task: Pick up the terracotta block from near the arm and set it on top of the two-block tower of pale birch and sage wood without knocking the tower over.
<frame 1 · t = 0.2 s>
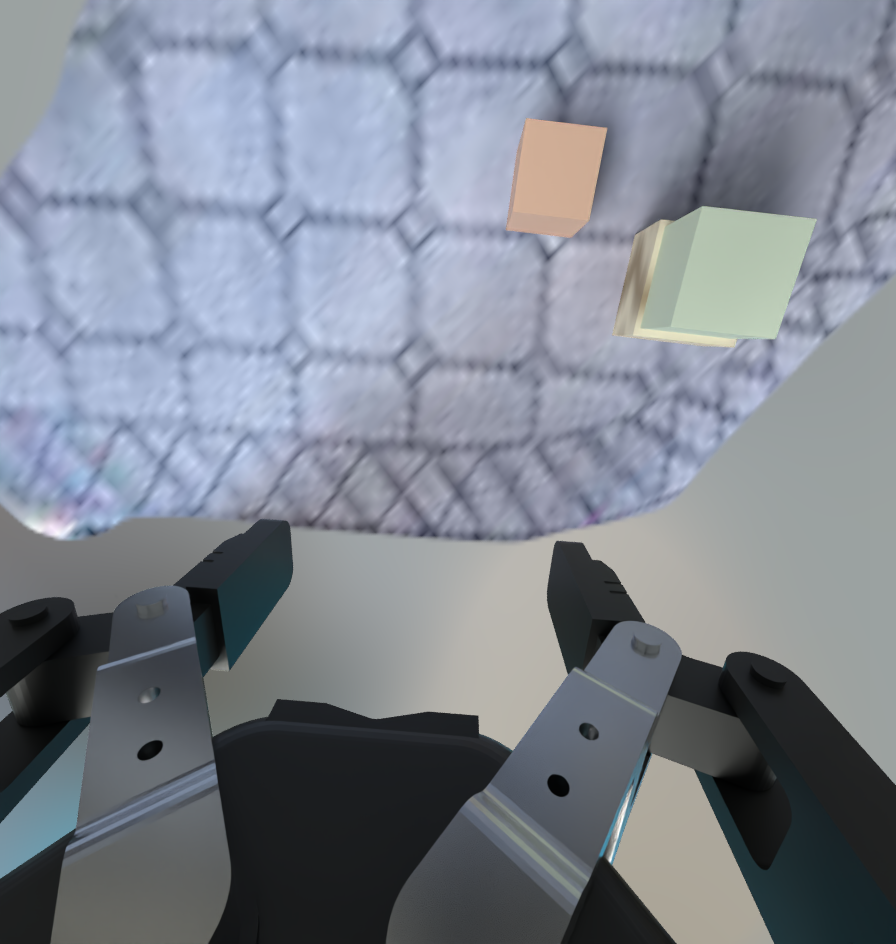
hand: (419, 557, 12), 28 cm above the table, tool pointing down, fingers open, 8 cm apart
sage top block: (698, 284, 31), point 5 cm above the table, touching birch base block
birch base block: (668, 292, 36), on the table, touching sage top block
terracotta block: (544, 196, 34), on the table
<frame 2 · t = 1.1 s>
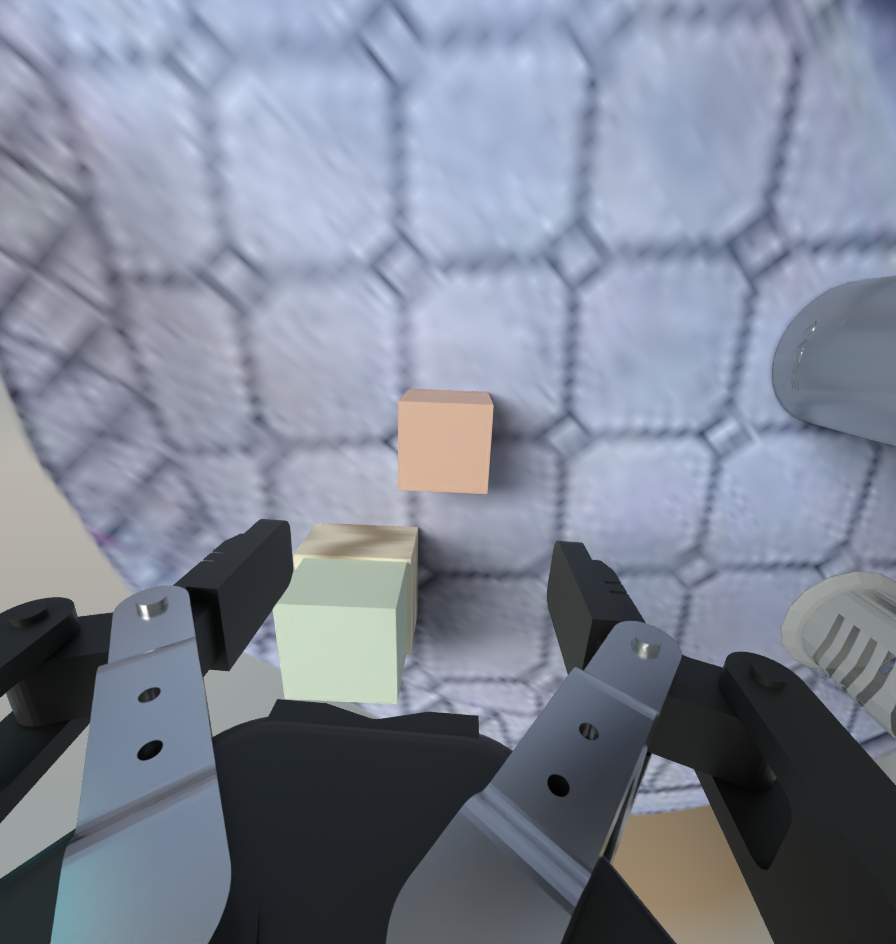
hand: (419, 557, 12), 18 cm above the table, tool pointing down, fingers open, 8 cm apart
french press: (843, 612, 34), on the table
sage top block: (357, 603, 29), point 5 cm above the table, touching birch base block
birch base block: (369, 568, 34), on the table, touching sage top block
terracotta block: (447, 428, 30), on the table
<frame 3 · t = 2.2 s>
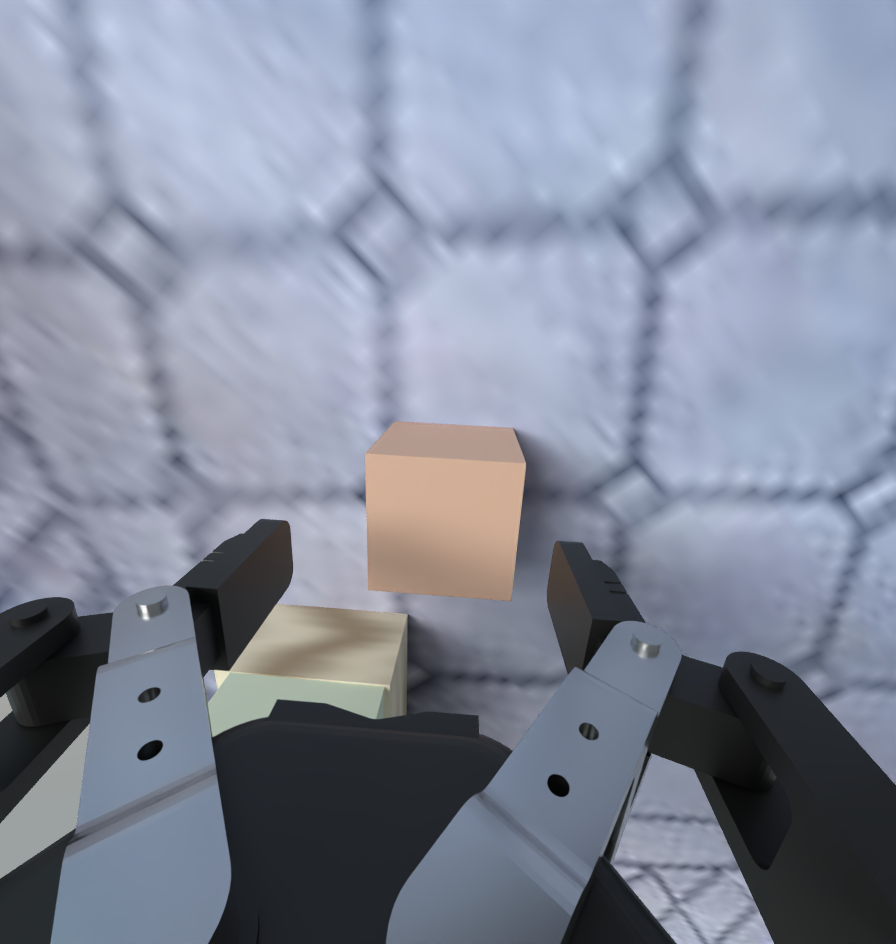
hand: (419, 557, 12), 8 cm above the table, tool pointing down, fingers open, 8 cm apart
sage top block: (311, 737, 19), point 5 cm above the table
birch base block: (340, 663, 24), on the table
terracotta block: (450, 479, 20), on the table
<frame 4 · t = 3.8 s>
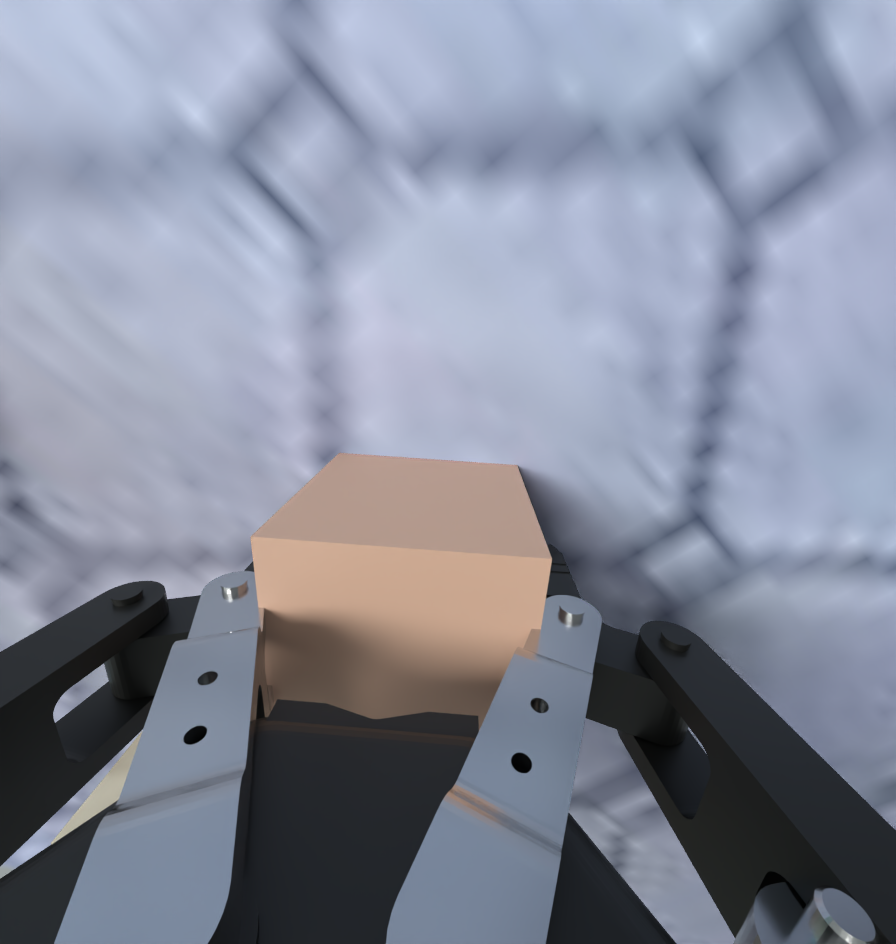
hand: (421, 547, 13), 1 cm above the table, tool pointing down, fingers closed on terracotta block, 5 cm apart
birch base block: (275, 775, 18), on the table
terracotta block: (424, 538, 14), on the table, touching gripper
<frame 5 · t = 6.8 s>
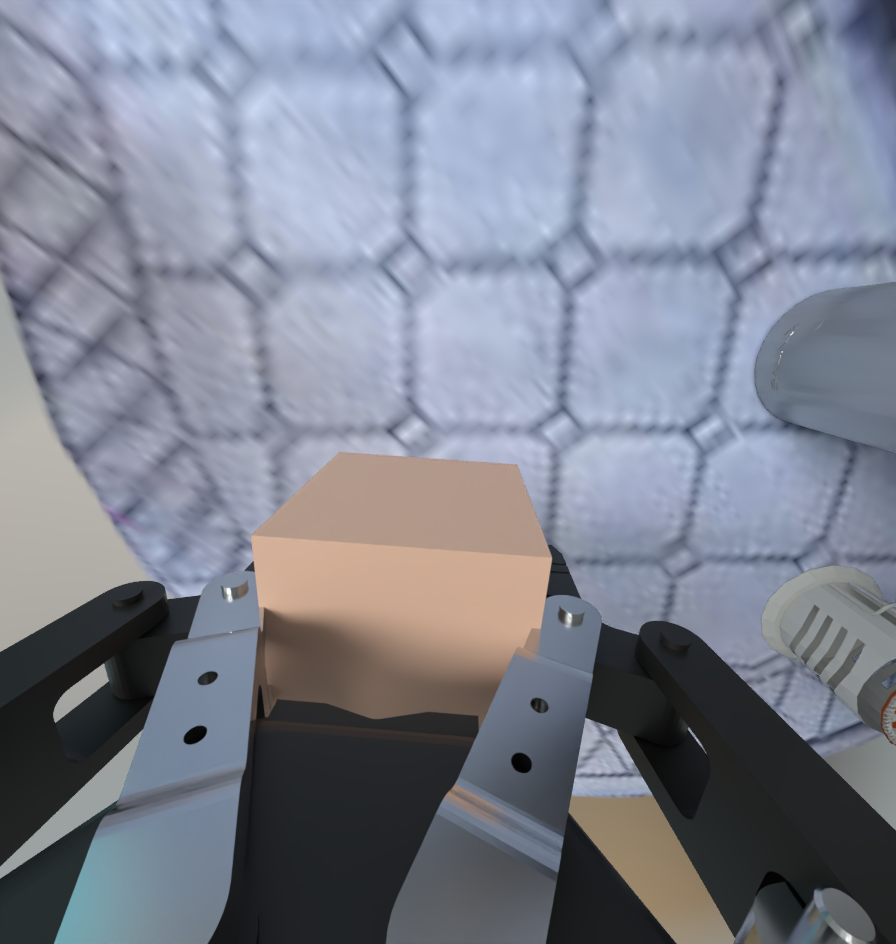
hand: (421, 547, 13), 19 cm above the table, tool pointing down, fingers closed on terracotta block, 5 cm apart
french press: (820, 604, 35), on the table
terracotta block: (424, 537, 14), point 19 cm above the table, touching gripper
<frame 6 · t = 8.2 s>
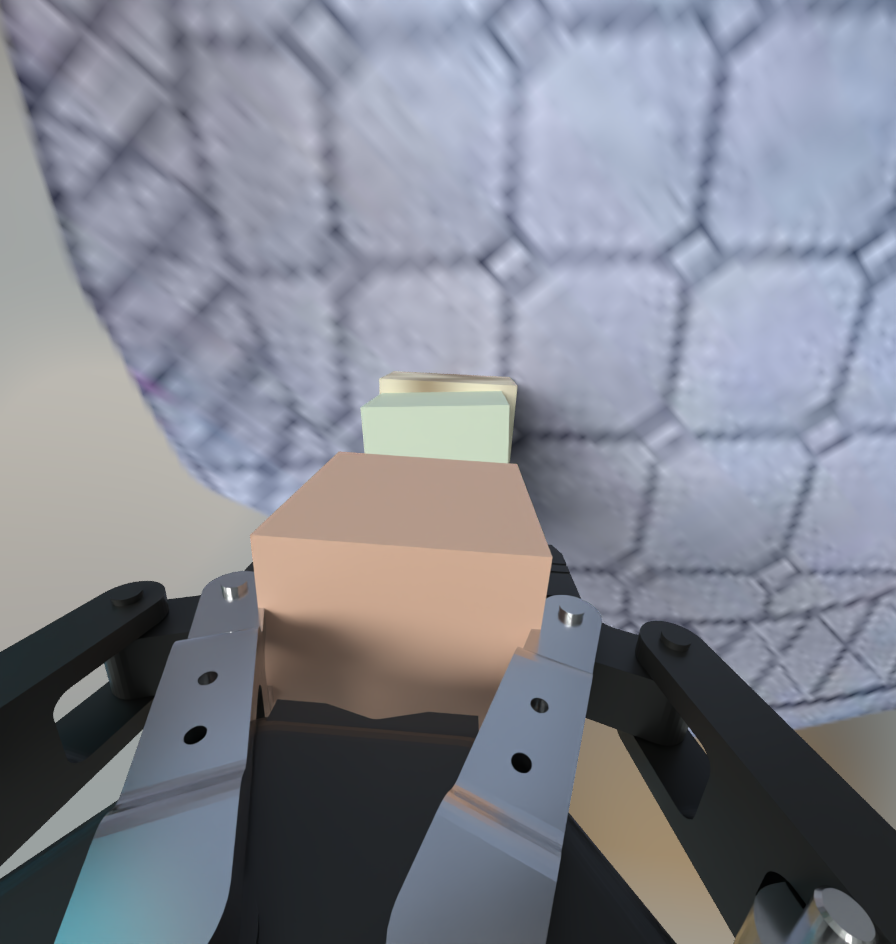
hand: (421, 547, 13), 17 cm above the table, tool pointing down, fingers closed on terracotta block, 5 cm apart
sage top block: (442, 449, 25), point 5 cm above the table, touching birch base block
birch base block: (448, 430, 30), on the table, touching sage top block
terracotta block: (424, 537, 14), point 17 cm above the table, touching gripper
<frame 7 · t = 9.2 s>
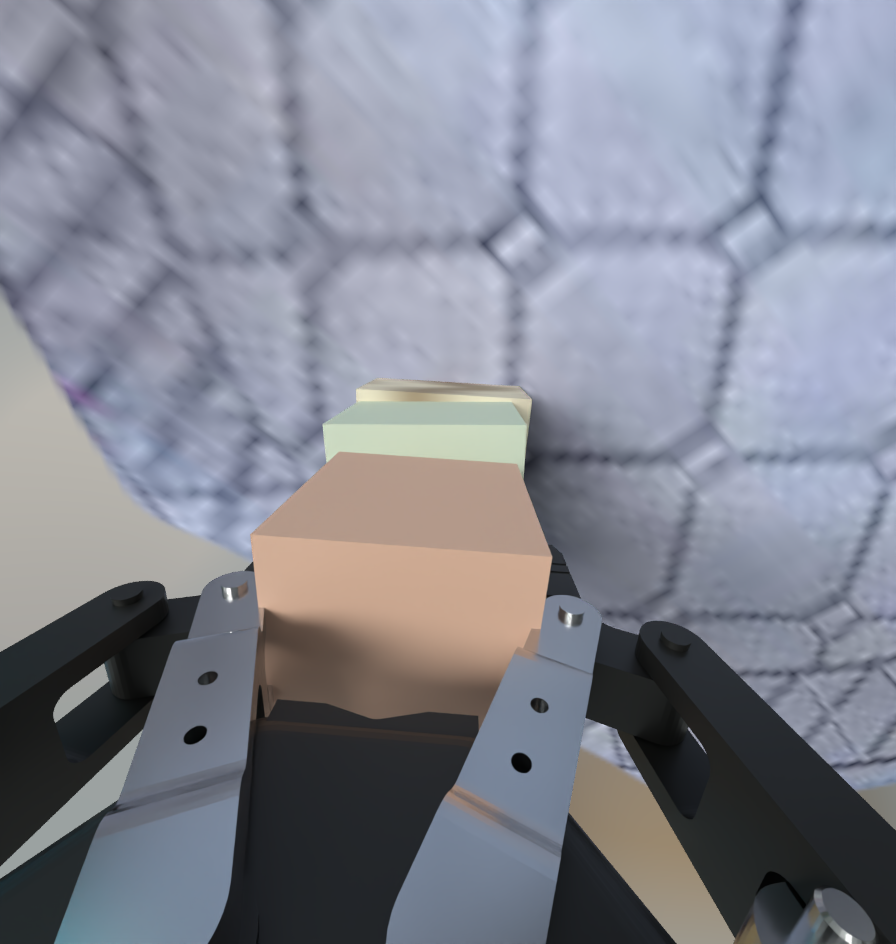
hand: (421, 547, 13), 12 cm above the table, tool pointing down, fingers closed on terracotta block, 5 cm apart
sage top block: (435, 473, 20), point 5 cm above the table, touching birch base block
birch base block: (444, 449, 25), on the table, touching sage top block
terracotta block: (424, 537, 14), point 11 cm above the table, touching gripper
when the fingers open (12 cm above the table, at t = 10.3 s): terracotta block drops 2 cm, resting on sage top block.
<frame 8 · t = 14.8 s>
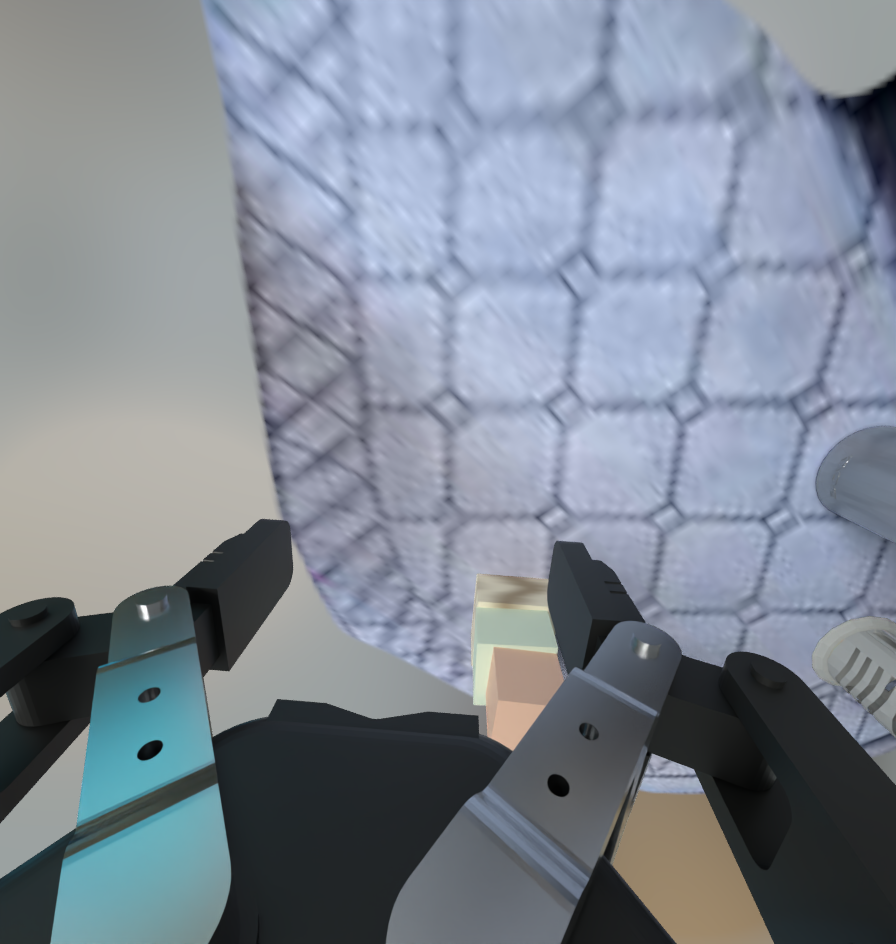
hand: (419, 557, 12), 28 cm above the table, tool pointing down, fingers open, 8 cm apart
french press: (858, 645, 46), on the table
sage top block: (508, 637, 42), point 5 cm above the table, touching birch base block, terracotta block
birch base block: (509, 606, 46), on the table, touching sage top block
terracotta block: (520, 674, 37), point 10 cm above the table, touching sage top block
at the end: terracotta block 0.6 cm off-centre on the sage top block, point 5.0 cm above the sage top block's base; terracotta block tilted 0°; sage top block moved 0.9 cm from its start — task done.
